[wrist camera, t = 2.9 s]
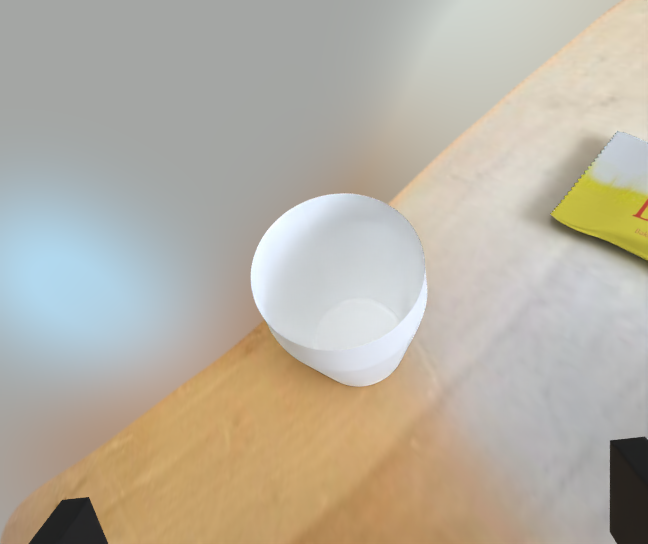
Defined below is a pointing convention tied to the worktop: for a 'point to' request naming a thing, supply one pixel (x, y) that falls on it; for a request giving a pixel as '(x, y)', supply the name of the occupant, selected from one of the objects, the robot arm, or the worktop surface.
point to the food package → (612, 196)
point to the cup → (342, 286)
